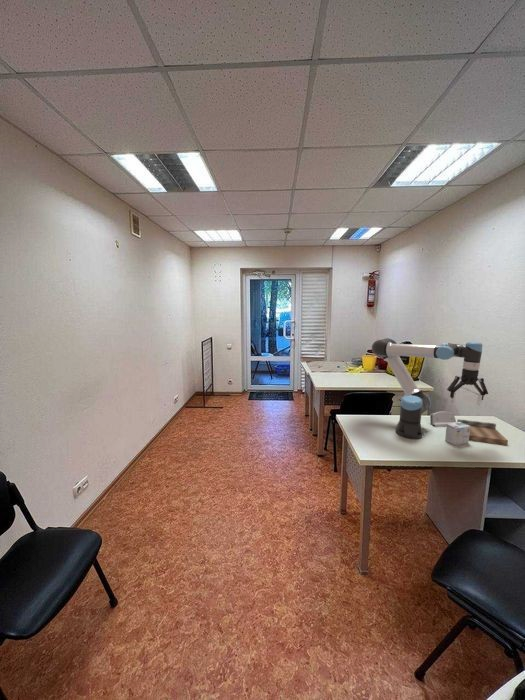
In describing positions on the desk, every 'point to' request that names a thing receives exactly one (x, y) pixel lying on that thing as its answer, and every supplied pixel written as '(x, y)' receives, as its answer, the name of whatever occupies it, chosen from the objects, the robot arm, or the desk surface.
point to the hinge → (442, 418)
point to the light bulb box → (457, 433)
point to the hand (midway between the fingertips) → (465, 404)
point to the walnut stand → (484, 432)
